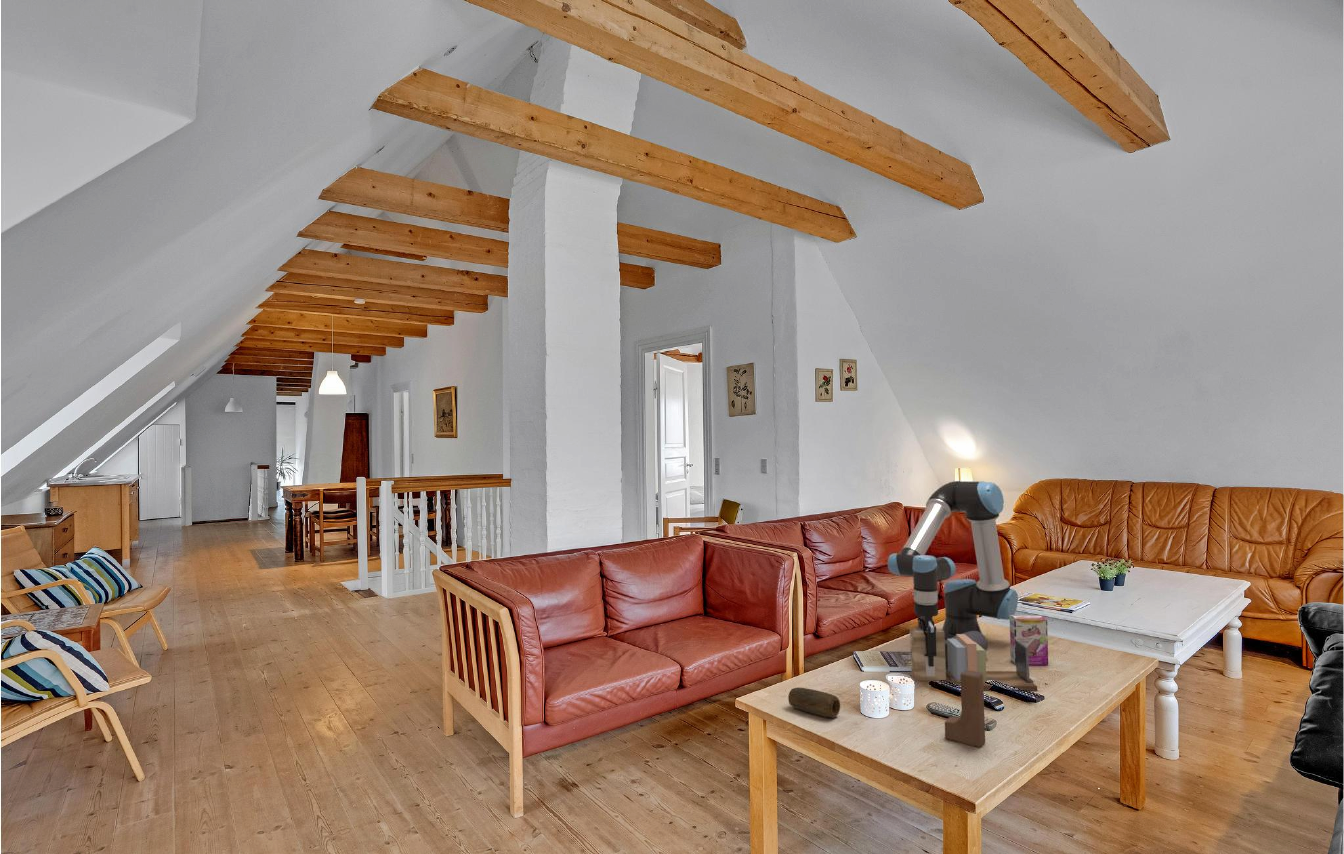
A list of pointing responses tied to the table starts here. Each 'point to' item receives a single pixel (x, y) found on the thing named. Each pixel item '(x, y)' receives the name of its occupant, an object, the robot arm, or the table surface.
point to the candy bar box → (1030, 637)
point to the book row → (965, 657)
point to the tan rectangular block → (920, 649)
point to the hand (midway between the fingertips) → (928, 672)
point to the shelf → (1001, 680)
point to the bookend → (1022, 662)
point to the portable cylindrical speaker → (814, 702)
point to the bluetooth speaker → (975, 637)
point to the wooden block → (969, 712)
